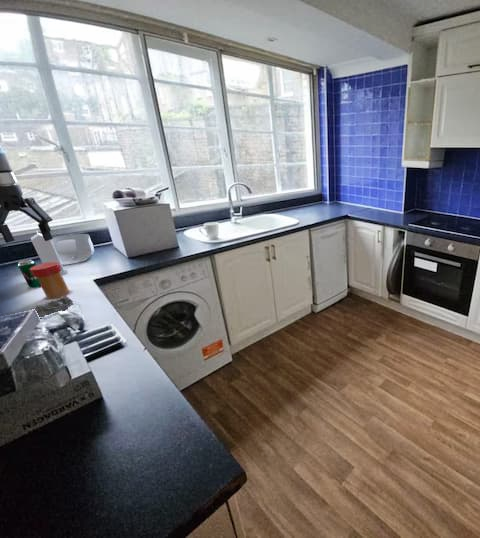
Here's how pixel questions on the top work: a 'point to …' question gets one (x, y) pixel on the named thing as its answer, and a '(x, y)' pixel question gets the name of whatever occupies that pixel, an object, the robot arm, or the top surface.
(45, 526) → the top surface
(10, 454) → the top surface
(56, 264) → the lid
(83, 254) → the bowl
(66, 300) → the egg carton
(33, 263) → the soda can
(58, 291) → the jar
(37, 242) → the milk
